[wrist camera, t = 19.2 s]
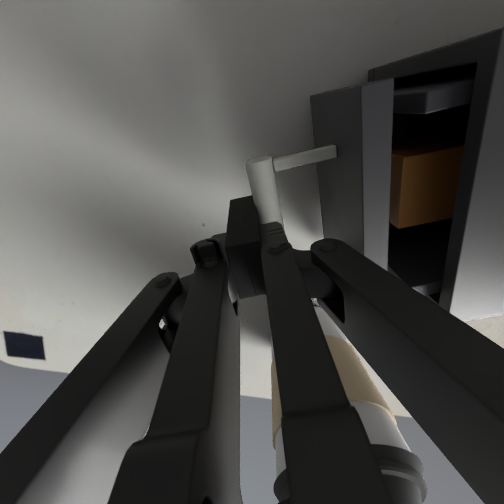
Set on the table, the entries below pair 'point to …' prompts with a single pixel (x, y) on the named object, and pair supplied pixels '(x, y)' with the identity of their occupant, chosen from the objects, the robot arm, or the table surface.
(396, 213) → the block
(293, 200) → the table surface
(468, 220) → the dark gray cabinet body
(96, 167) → the table surface
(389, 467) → the coffee cup
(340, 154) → the open drawer cabinet
